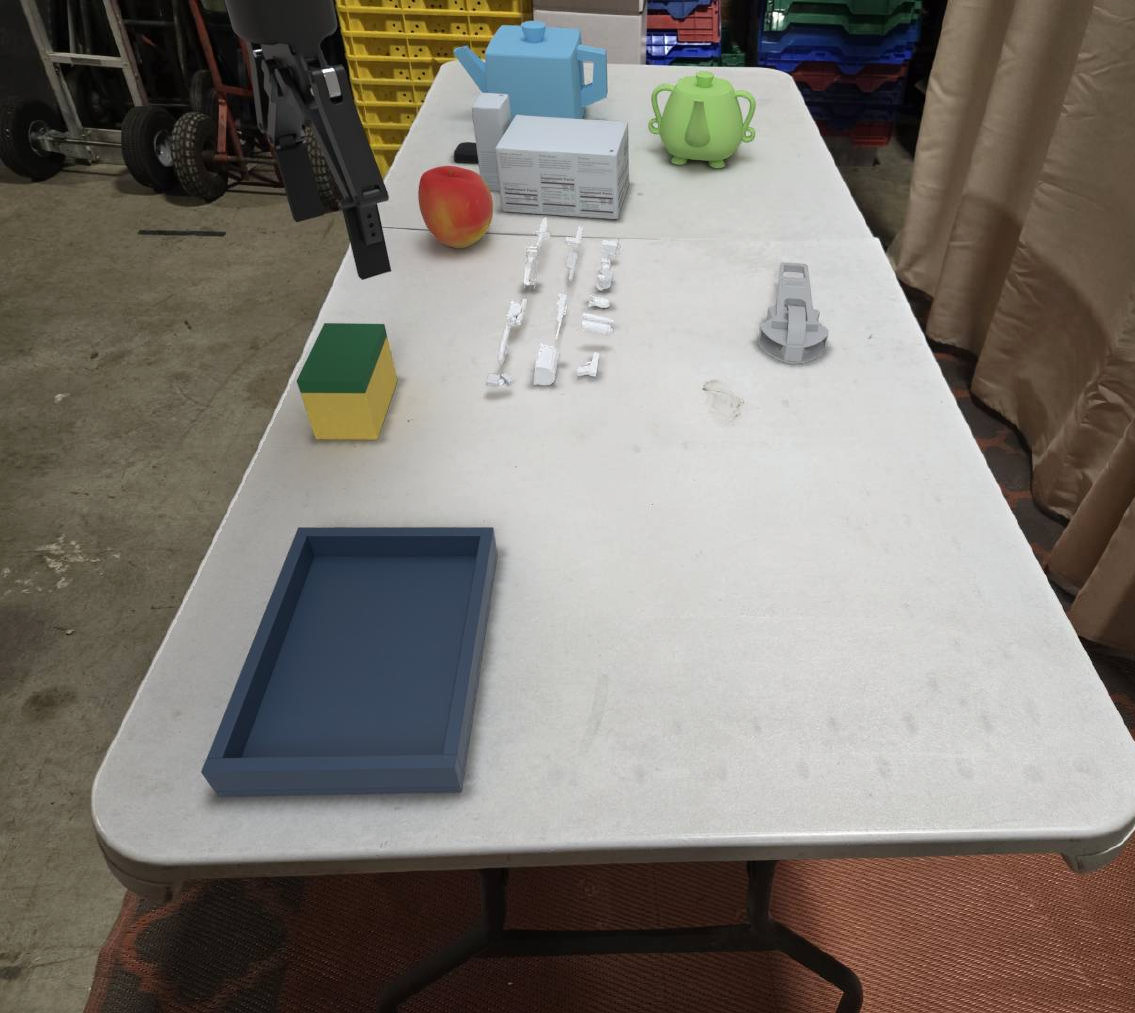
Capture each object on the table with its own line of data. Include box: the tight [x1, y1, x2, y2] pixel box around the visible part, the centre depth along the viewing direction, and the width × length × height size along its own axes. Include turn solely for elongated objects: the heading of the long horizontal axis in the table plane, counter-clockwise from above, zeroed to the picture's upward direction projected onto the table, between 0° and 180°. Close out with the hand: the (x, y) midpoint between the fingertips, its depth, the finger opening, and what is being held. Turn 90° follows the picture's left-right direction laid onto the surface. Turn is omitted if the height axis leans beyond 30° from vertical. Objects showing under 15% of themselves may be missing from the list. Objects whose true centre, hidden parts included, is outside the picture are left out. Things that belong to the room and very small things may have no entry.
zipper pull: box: [757, 261, 830, 365], centre depth 101 cm, size 8×18×4 cm, turn 175°
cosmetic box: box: [471, 92, 511, 192], centre depth 123 cm, size 6×4×12 cm
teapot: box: [647, 70, 757, 169], centre depth 133 cm, size 16×14×13 cm
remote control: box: [453, 141, 479, 164], centre depth 133 cm, size 5×2×15 cm
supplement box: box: [495, 115, 630, 220], centre depth 121 cm, size 17×13×9 cm
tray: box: [200, 526, 498, 798], centre depth 63 cm, size 22×16×3 cm
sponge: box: [296, 322, 398, 441], centre depth 84 cm, size 10×6×7 cm, turn 2°
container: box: [452, 20, 609, 122], centre depth 141 cm, size 17×25×15 cm
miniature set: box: [485, 217, 623, 389], centre depth 100 cm, size 6×35×12 cm
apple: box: [417, 165, 494, 249], centre depth 110 cm, size 10×10×10 cm
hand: (340, 244), depth 77 cm, fingers open, 13 cm apart
